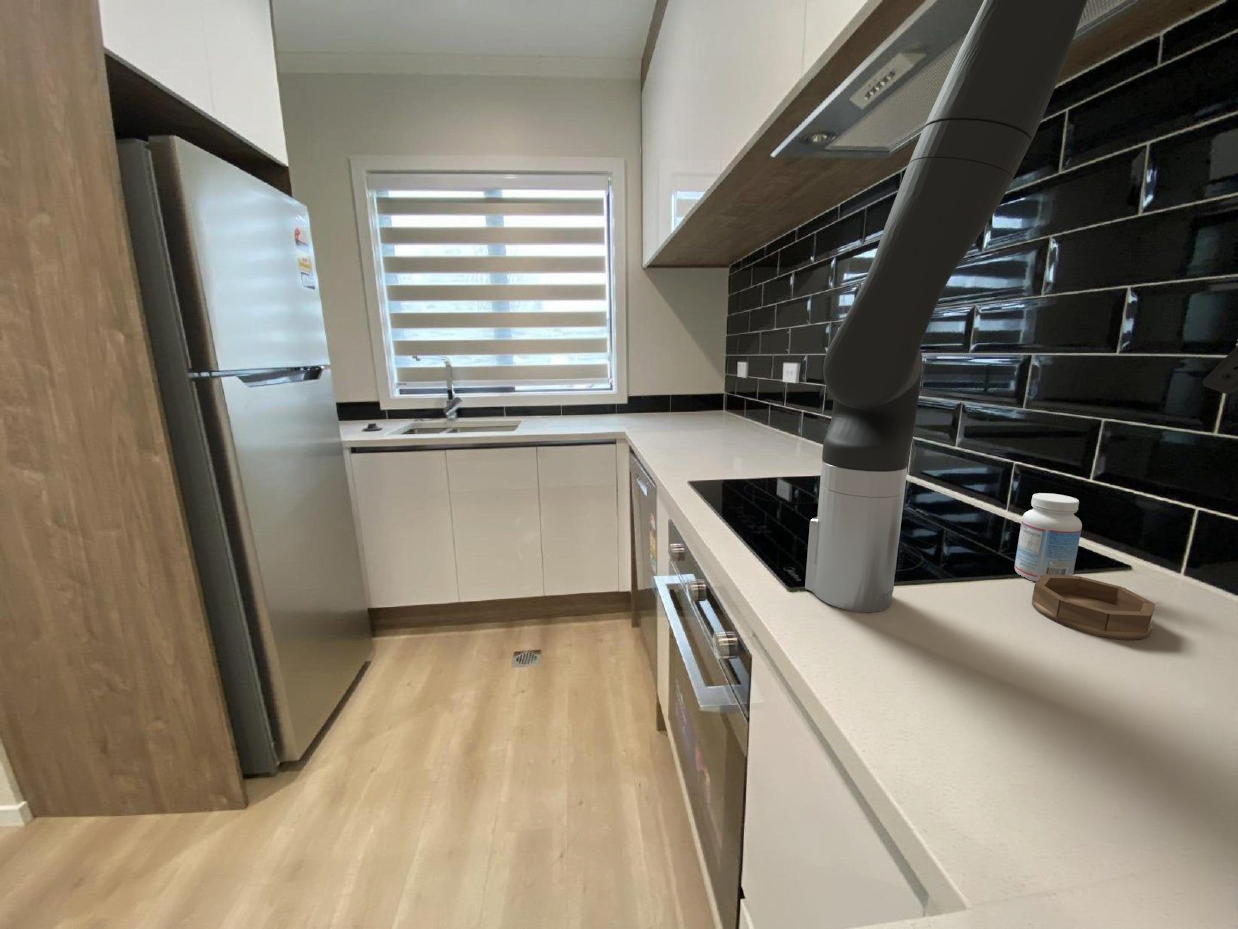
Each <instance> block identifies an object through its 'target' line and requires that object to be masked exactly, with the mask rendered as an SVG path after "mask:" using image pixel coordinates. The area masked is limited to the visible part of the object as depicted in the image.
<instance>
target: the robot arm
mask: <svg viewBox="0 0 1238 929" xmlns="http://www.w3.org/2000/svg"><path fill="white" fill-rule="evenodd" d="M1087 3H1088V0H983V2H982V4H981V6H980V8H979V10H978V12H977V13H976V16H975V19H974V21H973V22H972V24H971V25H970V28H969V30H968V32H967V34H966V36H965V38H964V40H963V43H962V45H961V47H960V48H959V50H958V52H957V54H956V56H955V59H954V61H953V63H952V65H951V67H950V70H949V72H948V73H947V76H946V79H945V80H944V83H943V85H942V86H941V89H940V91H939V93H938V96H937V98H936V100H935V102H934V105H933V106H932V108H931V110H930V113H929V114H928V117H927V119H926V122H925V124H924V126H923V129H922V131H921V134H920V136H919V139H918V141H917V143H916V145H915V148H914V150H913V153H912V155H911V157H910V160H909V163H908V165H907V167H906V169H905V172H904V175H903V177H902V180H901V183H900V185H899V188H898V190H897V193H896V197H895V199H894V201H893V204H892V207H891V209H890V212H889V214H888V218H887V220H886V222H885V225H884V227H883V228H884V229H883V231H882V234H881V237H880V240H879V243H878V246H877V248H876V252H875V254H874V258H873V260H872V263H871V265H870V267H869V270H868V272H867V275H866V276H865V279H864V280H863V282H862V285H861V287H860V288H859V290H858V292H857V294H856V296H855V298H854V300H853V302H852V304H851V306H850V307H849V309H848V311H847V313H846V315H845V316H844V318H843V320H842V322H841V324H840V326H839V328H838V330H837V332H836V333H835V335H834V337H833V338H832V341H831V343H830V345H829V346H828V349H827V351H826V353H825V357H824V360H823V367H822V372H823V375H822V376H823V380H824V385H825V386H826V389H827V391H828V392H829V394H830V395H831V396H832V398H833V402H832V403H833V405H832V411H831V419H830V423H829V427H828V430H827V432H826V435H825V437H824V439H823V444H822V455H821V468H820V478H819V479H820V481H819V491H818V492H819V494H818V505H817V506H818V507H817V516H816V517H813V518H812V519H810V521H809V531H808V532H809V533H808V544H807V558H806V569H805V570H806V571H805V583H804V584H805V585H804V589H805V590H807V591H810V592H812V593H813V594H814V595H815V596H816V597H817V598H818V599H819V600H821V601H823V602H824V603H826V604H827V605H830V606H833V607H835V608H839V609H843V610H845V611H846V610H847V611H851V612H861V613H874V612H880V611H884V610H886V609H888V608H889V607H890V606H891V605H892V602H893V593H894V586H895V575H896V568H897V562H898V561H897V559H898V558H897V557H898V551H899V550H898V549H899V541H900V534H901V526H902V525H901V524H902V520H903V519H902V516H903V510H904V509H903V508H904V501H905V492H906V491H905V490H906V482H907V475H908V465H909V457H910V453H911V452H910V451H911V448H912V444H913V439H914V434H915V429H916V428H915V427H916V420H917V412H918V411H917V410H918V406H919V405H918V404H919V399H920V398H919V397H920V389H921V382H922V371H923V354H922V351H921V347H922V343H923V340H924V338H925V335H926V331H927V329H928V328H929V325H930V322H931V319H932V317H933V314H934V312H935V309H936V307H937V304H938V302H939V300H940V298H941V295H942V294H943V292H944V290H945V288H946V286H947V285H948V282H949V281H950V278H951V277H952V276H953V274H954V272H955V271H956V269H957V268H958V266H959V265H960V264H961V262H962V261H963V260H964V258H965V256H966V255H967V254H968V252H969V251H970V250H971V249H972V247H973V245H974V244H975V242H976V241H977V240H978V238H979V236H981V234H982V232H983V231H984V229H985V228H986V227H987V225H988V223H990V222H989V221H991V219H992V217H993V215H994V213H995V212H996V211H997V208H998V207H999V205H1000V203H1001V202H1002V200H1003V198H1004V197H1005V195H1006V193H1007V191H1008V189H1009V188H1010V186H1011V184H1012V183H1013V181H1014V177H1015V176H1016V174H1017V172H1018V170H1019V168H1020V165H1021V163H1022V161H1023V160H1024V157H1025V155H1026V154H1027V151H1028V150H1029V147H1030V146H1031V143H1032V142H1033V140H1034V138H1035V136H1036V133H1037V130H1038V129H1039V126H1040V124H1041V122H1042V120H1043V117H1044V115H1045V113H1046V110H1047V107H1048V105H1049V102H1050V100H1051V98H1052V95H1053V94H1054V91H1055V88H1056V86H1057V83H1058V81H1059V78H1060V76H1061V73H1062V70H1063V67H1064V65H1065V62H1066V60H1067V57H1068V55H1069V52H1070V49H1071V46H1072V43H1073V41H1074V38H1075V34H1076V33H1077V30H1078V26H1079V24H1080V21H1081V18H1082V16H1083V13H1084V11H1085V8H1086V5H1087ZM1236 341H1237V342H1236V344H1235V347H1234V348H1233V349H1232V350H1231V351H1230V352H1229V353H1228V354H1227V355H1226V356H1225V357H1224V358H1223V359H1222V360H1221V361H1220V362H1219V363H1218V365H1217V366H1215V368H1213V370H1211V372H1210V373H1208V375H1207V376H1206V377H1205V378H1204V379H1203V380H1202V385H1203V386H1204V387H1205V388H1209V389H1211V390H1214V391H1217V392H1220V393H1222V394H1225V395H1229V394H1233V393H1234V392H1236V391H1237V390H1238V339H1237V340H1236Z"/></svg>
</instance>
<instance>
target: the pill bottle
mask: <svg viewBox="0 0 1238 929" xmlns="http://www.w3.org/2000/svg"><path fill="white" fill-rule="evenodd" d="M1031 496H1032V498H1031V502H1030V504H1031V506H1032V509H1029V510H1028V511H1026V512H1024V513H1023V515H1022V518H1021V523H1020V531H1019V536H1018V543H1017V549H1016V555H1015V561H1014V570H1015V572H1016V573H1017V574H1018V575H1019V576H1020V575H1021V577H1022V578H1024V577H1025V579H1027V580H1029V581H1031V582H1035V583H1036V582H1037V581H1038V580H1039V579H1040V578H1041V576H1042V575H1066V576H1074V570H1075V565H1076V559H1077V555H1078V549H1079V544H1080V539H1081V533H1082V528H1083V523H1082V521H1081V520H1080V518H1079V517H1077V516H1076V515H1075V514H1076V513H1077V512H1078V510H1079V504H1080V501H1079V499H1077V498H1076V497H1072V496H1068V495H1064V494H1057V493H1049V492H1048V493H1046V492H1045V493H1044V492H1043V493H1042V492H1038V493H1034V494H1033V495H1031Z"/></svg>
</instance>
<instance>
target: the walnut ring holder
mask: <svg viewBox="0 0 1238 929" xmlns="http://www.w3.org/2000/svg"><path fill="white" fill-rule="evenodd" d="M1031 599H1032V600H1031V605H1032V607H1033V608H1034V609H1035V610H1036V612H1038V613H1039V614H1041V615H1042V616H1044V617H1045V618H1048V619H1049V620H1050V621H1053V622H1055V623H1057V624H1059V625H1062V626H1064V627H1067V628H1070V629H1072V630H1075V631H1078V632H1082V633H1086V634H1090V635H1092V636H1096V637H1097V636H1098V637H1102V638H1107V639H1113V640H1125V641H1137V640H1138V641H1139V640H1143V639H1146V638H1147V637H1149V636H1150V634H1151V631H1152V627H1153V624H1152V618H1153V615H1154V612H1155V607H1156V604H1155V603H1154V602H1153V601H1151V600H1149V599H1147V598H1144V597H1143V596H1141V595H1139V594H1137V593H1136V592H1133V591H1132V590H1130V589H1127V588H1125V587H1124V586H1123V587H1122V586H1119V585H1116V584H1112V583H1107V582H1104V581H1100V580H1096V579H1092V578H1087V577H1084V576H1079V575H1073V576H1066V575H1042V576H1041V578H1040V579H1039V580H1038V581H1037V582H1035V583H1034V587H1033V593H1032V598H1031Z"/></svg>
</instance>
